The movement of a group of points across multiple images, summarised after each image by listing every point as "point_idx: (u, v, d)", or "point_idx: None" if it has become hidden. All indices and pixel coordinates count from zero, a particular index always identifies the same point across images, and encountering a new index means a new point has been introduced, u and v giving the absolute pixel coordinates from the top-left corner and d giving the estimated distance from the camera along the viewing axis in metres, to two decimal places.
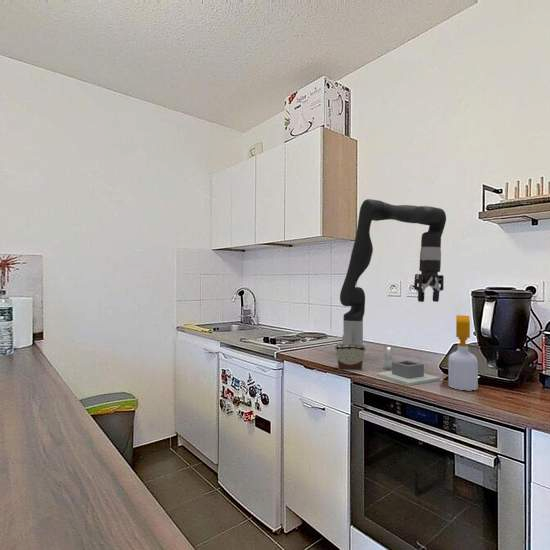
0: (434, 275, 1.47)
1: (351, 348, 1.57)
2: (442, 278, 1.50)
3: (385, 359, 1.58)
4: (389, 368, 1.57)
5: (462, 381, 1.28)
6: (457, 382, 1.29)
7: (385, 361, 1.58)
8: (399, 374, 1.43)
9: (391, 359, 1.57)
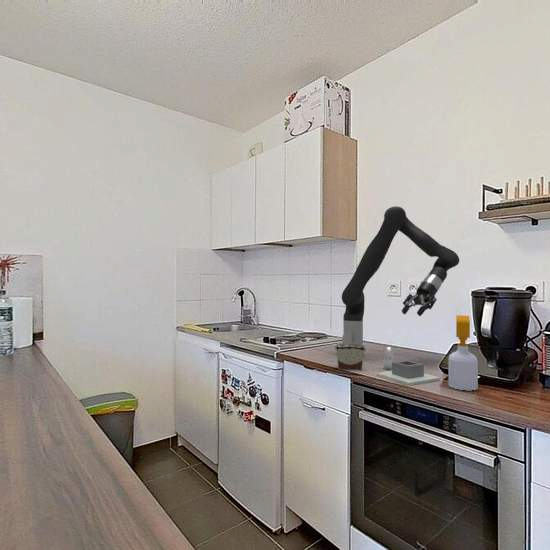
0: None
1: (351, 348, 1.57)
2: None
3: (385, 359, 1.58)
4: (389, 368, 1.57)
5: (462, 381, 1.28)
6: (457, 382, 1.29)
7: (385, 361, 1.58)
8: (399, 374, 1.43)
9: (391, 359, 1.57)
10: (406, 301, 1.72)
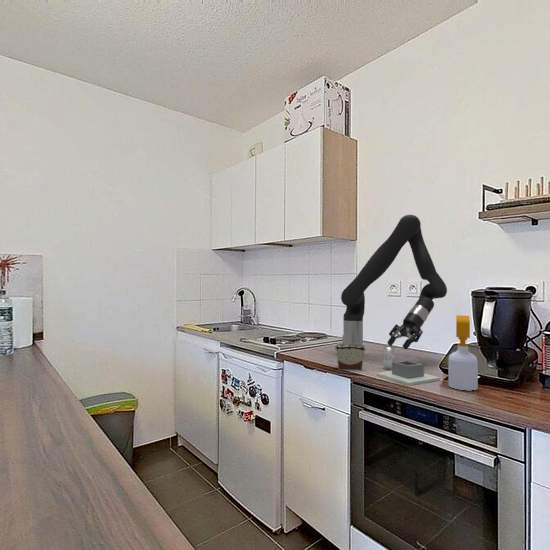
0: None
1: (351, 348, 1.57)
2: None
3: (385, 359, 1.58)
4: (389, 368, 1.57)
5: (462, 381, 1.28)
6: (457, 382, 1.29)
7: (386, 361, 1.58)
8: (399, 374, 1.43)
9: (391, 359, 1.57)
10: (392, 332, 1.68)
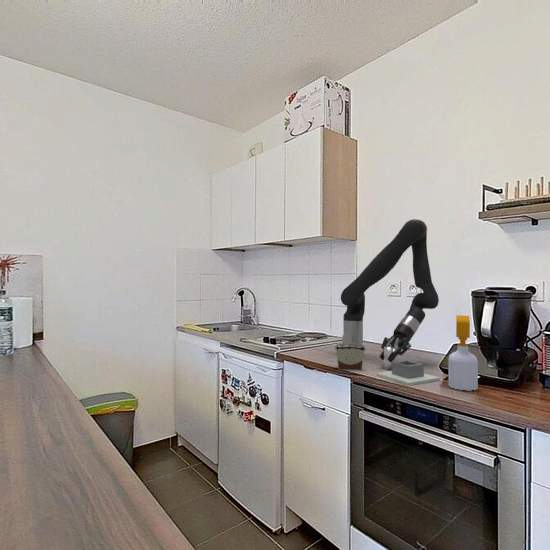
0: None
1: (351, 348, 1.57)
2: None
3: (385, 359, 1.58)
4: (389, 368, 1.57)
5: (462, 381, 1.28)
6: (457, 382, 1.29)
7: (385, 361, 1.58)
8: (399, 374, 1.43)
9: None
10: (384, 345, 1.64)
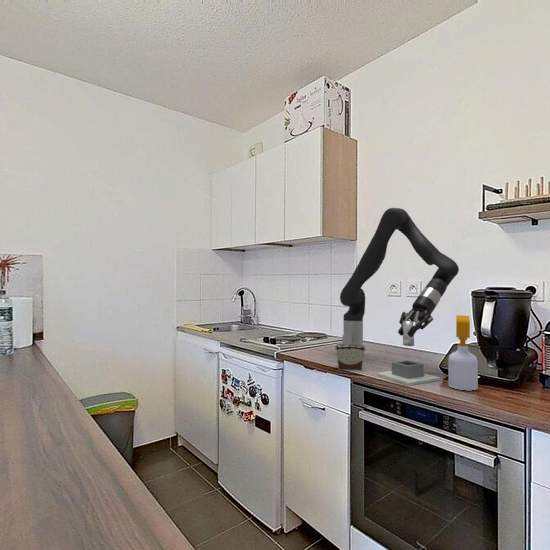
0: None
1: (351, 348, 1.57)
2: None
3: (405, 334, 1.44)
4: (409, 344, 1.43)
5: (462, 381, 1.28)
6: (457, 382, 1.29)
7: (405, 336, 1.44)
8: (399, 374, 1.43)
9: None
10: (402, 319, 1.50)
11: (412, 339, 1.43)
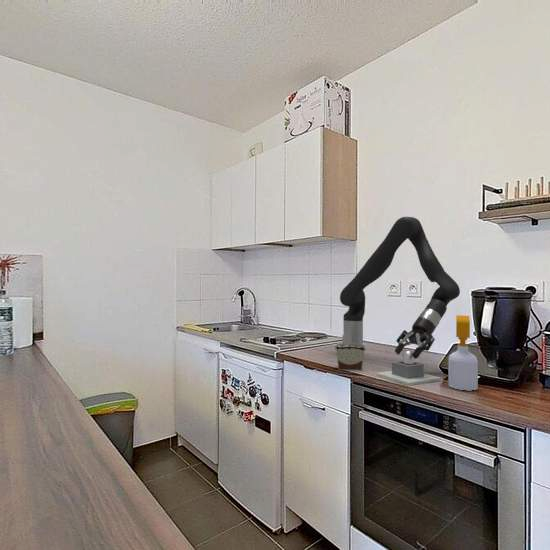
0: None
1: (351, 348, 1.57)
2: None
3: None
4: None
5: (462, 381, 1.28)
6: (457, 382, 1.29)
7: None
8: (399, 374, 1.43)
9: (411, 364, 1.43)
10: (400, 339, 1.51)
11: None
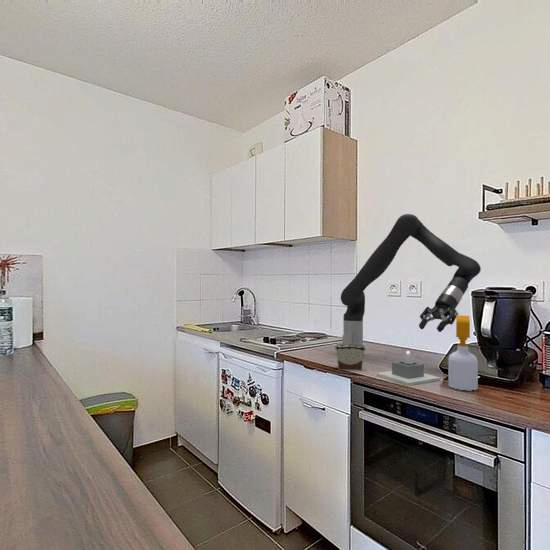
0: None
1: (351, 348, 1.57)
2: None
3: None
4: None
5: (462, 381, 1.28)
6: (457, 382, 1.29)
7: None
8: (399, 374, 1.43)
9: (410, 364, 1.43)
10: (423, 315, 1.57)
11: None
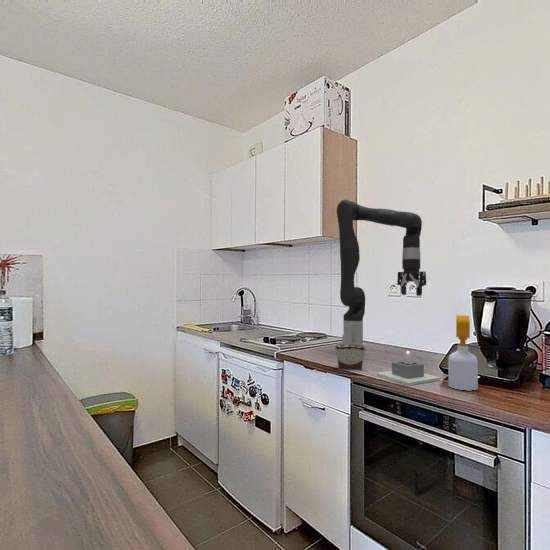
0: None
1: (351, 348, 1.57)
2: None
3: None
4: None
5: (462, 381, 1.28)
6: (457, 382, 1.29)
7: None
8: (399, 374, 1.43)
9: (410, 364, 1.43)
10: (399, 281, 1.74)
11: None
